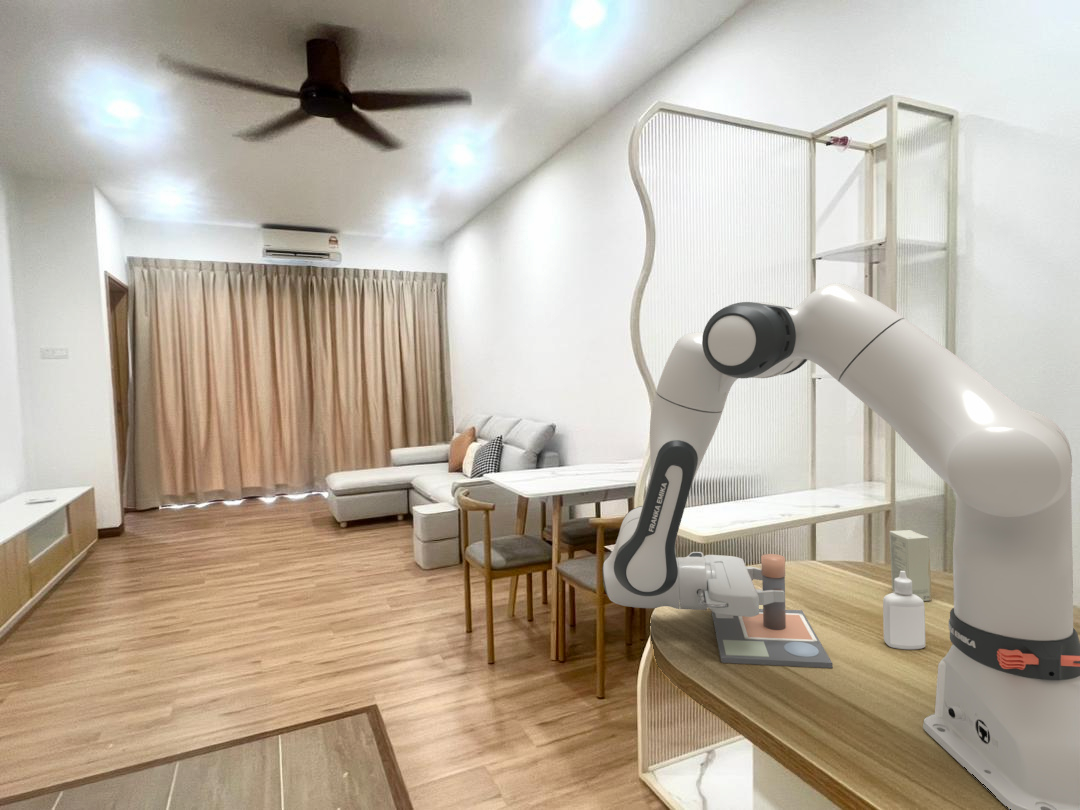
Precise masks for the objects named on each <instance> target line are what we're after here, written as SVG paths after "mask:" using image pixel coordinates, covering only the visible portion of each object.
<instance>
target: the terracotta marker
mask: <svg viewBox="0 0 1080 810" xmlns="http://www.w3.org/2000/svg"><path fill="white" fill-rule="evenodd" d="M760 558H761V561H760V563H761V568H760V569H762V580H761V582H762V585H761V586H762V590H763V591H766V590H772V588H777V589H779V588H780V589H783V591H784V593H785V594H786V578H785V577H786V557H785V556H784V555H781V554H776V553H764V554H762V555H761V556H760ZM762 609H763V625H764V626H765V627H766V628H768V629H772V630H783V629H785V628H786V611H785V610H786V600H785V601H784V602H773V603H770V604H766V605H762Z"/></svg>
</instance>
